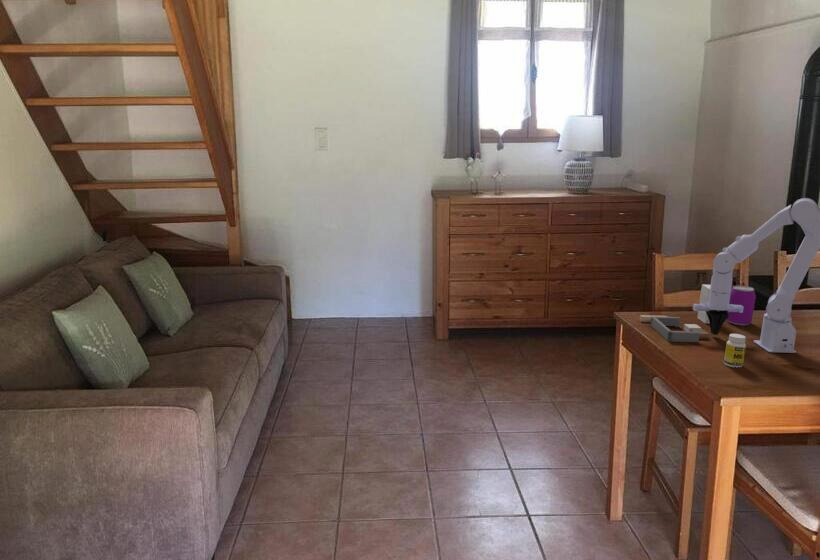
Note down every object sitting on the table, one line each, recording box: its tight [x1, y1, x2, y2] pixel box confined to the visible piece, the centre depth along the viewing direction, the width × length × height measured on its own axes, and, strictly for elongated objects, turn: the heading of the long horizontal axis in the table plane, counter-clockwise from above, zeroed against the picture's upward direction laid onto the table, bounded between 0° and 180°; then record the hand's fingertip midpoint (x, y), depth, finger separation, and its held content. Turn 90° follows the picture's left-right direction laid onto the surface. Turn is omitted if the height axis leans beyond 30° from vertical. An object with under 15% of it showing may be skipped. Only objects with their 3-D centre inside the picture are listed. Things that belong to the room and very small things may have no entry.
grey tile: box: [682, 323, 703, 332], centre depth 206 cm, size 4×4×2 cm
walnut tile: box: [691, 329, 710, 340], centre depth 200 cm, size 4×4×2 cm
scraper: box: [638, 314, 669, 323], centre depth 215 cm, size 7×11×2 cm, turn 89°
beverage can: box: [726, 285, 757, 327], centre depth 214 cm, size 8×8×12 cm
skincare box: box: [697, 283, 711, 324], centre depth 215 cm, size 6×4×12 cm
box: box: [650, 316, 700, 343], centre depth 203 cm, size 16×9×3 cm, turn 179°
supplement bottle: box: [723, 333, 747, 369], centre depth 176 cm, size 5×5×8 cm
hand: (714, 333), depth 200 cm, fingers closed
